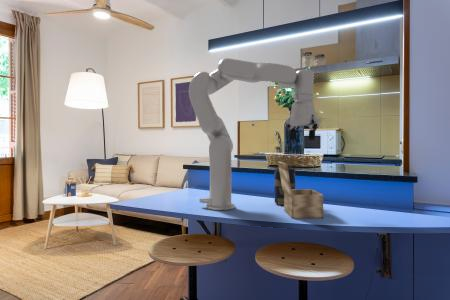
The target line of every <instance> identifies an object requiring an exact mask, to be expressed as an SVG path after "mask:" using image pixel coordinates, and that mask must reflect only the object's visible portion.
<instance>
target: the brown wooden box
mask: <svg viewBox="0 0 450 300" xmlns="http://www.w3.org/2000/svg"><path fill="white" fill-rule="evenodd" d="M291 191H292V195H289V194H288V193H287V192H285V191H284V205H283V211H284V212H285V213H286V214H287V215H288V216H289V218H290V219H324V194H323V193H320V192H318V191H316V190H314V189H307V188H306V189H305V188H304V189H303V188H302V189H300V188H299V189H297V188H295V189H291Z"/></svg>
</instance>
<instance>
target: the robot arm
mask: <svg viewBox="0 0 450 300" xmlns="http://www.w3.org/2000/svg"><path fill="white" fill-rule="evenodd" d="M314 75H315V73H314V71H313V70H311V69H307V68H306V69H305V68H304V69H299V70H297V71H296V70H295V69H294V67H292V66H289V65H285V64H279V63H275V62H274V63H272V62H252V61H248V60H240V59H234V58H228V57H227V58H223V59H221V60H219V62H218V64H217V69H216V70H214V71H213V72H211V73H209V72H207V71H200V72H198V73H196V74H195V75H194V76H193V77H192V79H191V81H190V83H189V86H188V98H189V101H190V104H191V107H192V109H193V111H194V114H195V117H196V119H197V121H198V123H199V126H200V128H201V130H202V132H204V134H206V136H207V139H208V140H209V147H208V152H209V153H208V156H209V157H208V158H209V159H208V160H209V196H208V197H206V198H201V197H200V198H199V203H200V204H205V205H206V207H205V208H206V209H208V210H212V211H228V210H233V209H235V204H234V203H232V152H233V149H234V143H233V141H232V138H231V136H230V133H229V132H228V129H227V127H226V125H225V123H224V121H223V119H222V117H220V116H219V115H218V114H217V112H216V109H215V107H214V106H213V105H214V104H213V102H212V100H211V99H210V95H213V94H214V93H217V92H218V91H219V90H221V89H223V88H224V87H226V86H227V85H229V84H230V83H232V82H233V81H240V82H241V81H242V82H247V83H250V84H251V83H254V84H255V83H259V82H273V83H276V84H277V85H278V86H279V88H282V89H291V88H292V89H294V97H293V99H292V100H293V101H294V102H292V105H291V109H290V118H288V119H287V120H286V121H285V122H286V125H287V127H288V130H289V131H290V133H289V134H290V135H289V138H290V140H297V130H296V129H297V128H298V127H308V128H309V130H308V140H309V141H314V140H315V138H316V131H317V129H318V128H319V127H320V124H321V122H322V119H321V118H320V117H318V116H316V107H315V103H314V102H313V101H314V80H315V79H314V77H315V76H314Z"/></svg>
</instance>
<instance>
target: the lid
mask: <svg viewBox="0 0 450 300" xmlns="http://www.w3.org/2000/svg"><path fill="white" fill-rule="evenodd" d="M277 164H278V167H277V168H279V172H280V178H281V184H282V190H284V191H285V192H287V193H288V194H289V195H292V191H291V185H290V179H289V173H288V167H289V166H288V164H287V163H285V162H283V161H277ZM287 166H288V167H287Z"/></svg>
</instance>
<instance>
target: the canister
mask: <svg viewBox="0 0 450 300" xmlns="http://www.w3.org/2000/svg"><path fill="white" fill-rule="evenodd" d="M287 167H288V173H289V179H290V185H291V189H296V169H295V168H293V167H290V166H288V165H287ZM274 204H276V205H279V206H284V190H282V184H281V178H280V172H279V167H276V168H275V169H274Z"/></svg>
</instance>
